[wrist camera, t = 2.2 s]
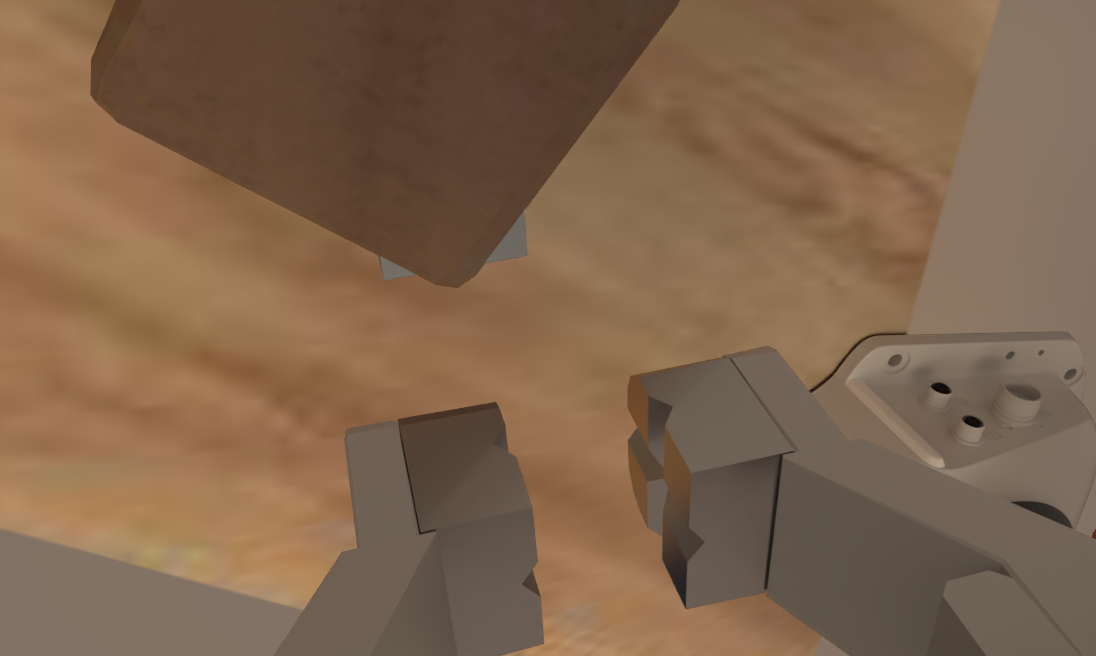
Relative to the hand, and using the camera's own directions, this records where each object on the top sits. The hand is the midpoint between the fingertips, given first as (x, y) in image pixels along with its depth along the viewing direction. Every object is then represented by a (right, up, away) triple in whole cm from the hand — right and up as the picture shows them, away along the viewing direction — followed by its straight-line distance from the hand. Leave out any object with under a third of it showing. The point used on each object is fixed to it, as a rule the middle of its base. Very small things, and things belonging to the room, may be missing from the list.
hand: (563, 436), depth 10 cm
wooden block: (-8, +18, +27) cm, 33 cm away
